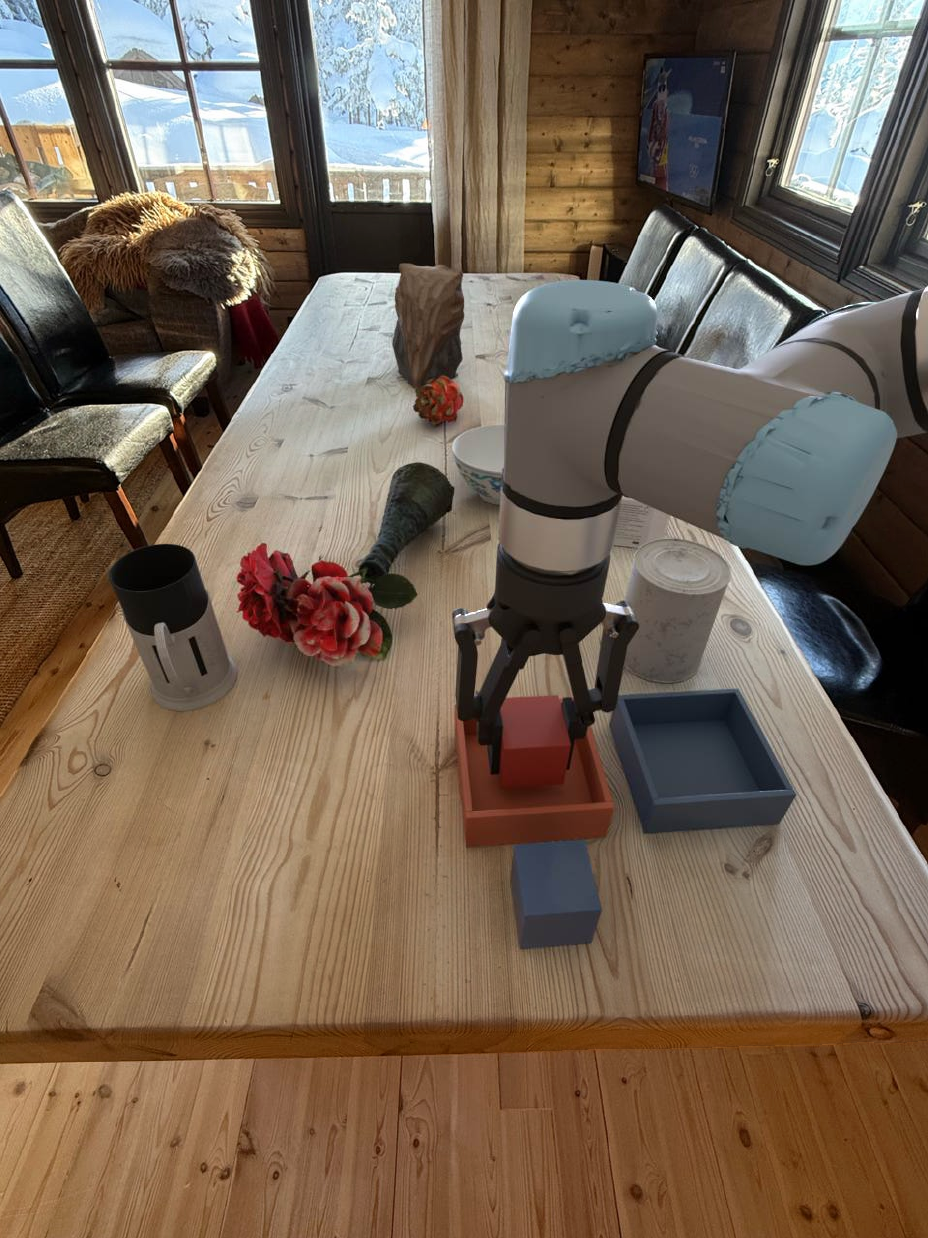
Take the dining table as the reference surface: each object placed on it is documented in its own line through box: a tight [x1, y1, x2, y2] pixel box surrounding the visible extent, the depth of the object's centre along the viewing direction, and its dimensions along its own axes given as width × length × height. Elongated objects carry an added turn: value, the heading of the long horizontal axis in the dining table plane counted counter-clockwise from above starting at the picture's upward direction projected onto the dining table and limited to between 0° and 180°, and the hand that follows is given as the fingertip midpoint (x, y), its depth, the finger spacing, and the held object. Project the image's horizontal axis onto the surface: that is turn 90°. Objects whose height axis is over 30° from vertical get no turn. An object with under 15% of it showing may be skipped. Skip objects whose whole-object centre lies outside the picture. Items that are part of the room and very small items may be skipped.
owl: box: [391, 263, 465, 389], centre depth 130 cm, size 13×13×20 cm
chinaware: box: [451, 424, 505, 506], centre depth 98 cm, size 15×15×8 cm
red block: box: [499, 694, 571, 788], centre depth 57 cm, size 6×6×6 cm
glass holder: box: [108, 543, 238, 712], centre depth 63 cm, size 9×14×15 cm, turn 20°
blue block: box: [509, 839, 603, 950], centre depth 50 cm, size 6×6×6 cm
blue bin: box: [608, 687, 797, 835], centre depth 60 cm, size 12×12×4 cm
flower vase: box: [236, 461, 456, 667], centre depth 79 cm, size 16×18×35 cm
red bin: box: [454, 697, 616, 848], centre depth 59 cm, size 12×12×4 cm
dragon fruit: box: [412, 376, 465, 427], centre depth 118 cm, size 8×8×12 cm
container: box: [613, 496, 671, 549], centre depth 88 cm, size 8×8×13 cm
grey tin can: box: [624, 537, 732, 684], centre depth 70 cm, size 10×10×12 cm
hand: (527, 759), depth 59 cm, fingers closed on red block, 5 cm apart
